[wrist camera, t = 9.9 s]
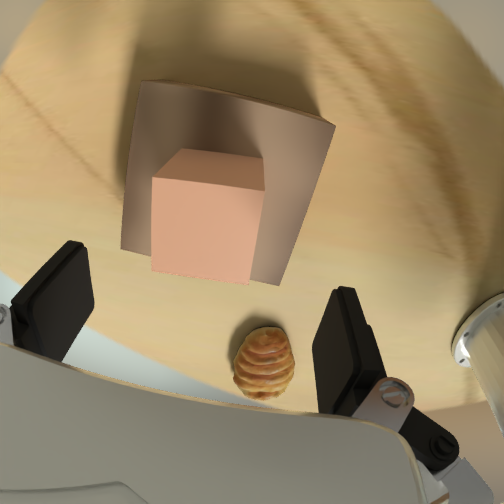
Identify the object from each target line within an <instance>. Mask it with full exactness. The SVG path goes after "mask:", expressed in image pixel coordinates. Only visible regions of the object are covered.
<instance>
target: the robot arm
mask: <svg viewBox="0 0 504 504" xmlns="http://www.w3.org/2000/svg"><path fill="white" fill-rule="evenodd" d="M11 304H12V306H11V307H10V308H8V307H7V306H6V305H4V304H0V504H493V503H494V496H493V492H492V490H491V489H490V487H489V486H488V485H487V484H486V483H485V481H484V480H483V479H482V478H481V476H480V475H479V474H478V473H477V472H476V470H475V469H474V468H473V467H472V466H471V464H470V463H469V462H468V461H467V460H466V458H463V459H461V458H460V457H459V456H458V455H459V445H458V442H457V440H456V439H455V437H454V436H453V435H452V434H451V433H450V432H448V431H447V430H446V429H444V428H443V427H441V426H440V425H438V424H437V423H436V422H434V421H433V420H431V419H430V418H429V417H427V416H426V415H424V414H423V413H422V412H420V411H419V410H417V409H416V408H415V407H413V404H414V401H415V399H414V393H413V391H412V389H411V388H410V387H409V385H408V384H406V383H405V382H404V381H402V380H400V379H398V378H394V377H387V375H386V371H385V368H384V365H383V362H382V358H381V355H380V352H379V349H378V346H377V343H376V340H375V337H374V333H373V330H372V328H371V326H370V325H368V324H367V323H366V320H365V317H364V314H363V311H362V308H361V305H360V302H359V299H358V296H357V293H356V290H355V288H351V287H344V286H339V287H338V289H333V291H332V293H331V296H330V298H329V301H328V304H327V306H326V309H325V312H324V314H323V317H322V320H321V322H320V325H319V328H318V330H317V333H316V335H315V338H314V340H313V344H312V354H313V362H314V371H315V380H316V390H317V400H318V410H319V413H312V412H300V411H290V410H280V409H272V408H263V407H254V406H247V405H239V404H233V403H226V402H220V401H213V400H207V399H202V398H197V397H191V396H186V395H181V394H176V393H171V392H167V391H162V390H158V389H153V388H149V387H145V386H141V385H137V384H133V383H129V382H125V381H121V380H118V379H114V378H110V377H107V376H103V375H100V374H96V373H93V372H90V371H86V370H83V369H80V368H77V367H73V366H71V365H67V364H65V363H62V360H63V358H64V357H65V355H66V353H67V352H68V350H69V348H70V347H71V345H72V343H73V342H74V340H75V338H76V337H77V335H78V333H79V332H80V330H81V328H82V327H83V325H84V324H85V322H86V321H87V319H88V317H89V316H90V314H91V313H92V311H93V309H94V296H93V290H92V283H91V276H90V268H89V260H88V252H87V248H86V247H84V245H83V243H82V242H76V241H71V240H69V241H67V242H66V243H65V244H64V245H63V246H62V247H61V248H60V249H59V250H58V251H57V252H56V253H55V254H54V255H53V256H52V257H51V258H50V259H49V260H48V261H47V262H46V263H45V264H44V265H43V266H42V267H41V268H40V269H39V270H38V272H37V273H36V274H35V275H34V276H33V277H32V278H31V279H30V280H29V281H28V282H27V283H26V284H25V285H24V287H23V288H22V289H21V290H20V291H19V292H18V293H17V294H16V295H15V297H14V298H13V299H12V300H11ZM452 356H453V358H454V360H455V362H456V363H457V364H458V365H460V366H462V367H471V368H472V370H473V372H474V374H475V376H476V378H477V380H478V382H479V384H480V386H481V388H482V390H483V392H484V394H485V396H486V398H487V400H488V402H489V405H490V407H491V409H492V411H493V414H494V416H495V418H496V420H497V423H498V425H499V427H500V430H501V432H502V435H503V437H504V293H502V294H499V295H497V296H495V297H493V298H491V299H489V300H488V301H486V302H485V303H483V304H482V305H481V306H480V307H479V308H477V309H476V310H475V311H474V312H473V313H472V314H471V315H470V316H469V317H468V318H467V320H466V321H465V322H464V323H463V325H462V326H461V328H460V329H459V331H458V332H457V334H456V336H455V338H454V341H453V344H452ZM500 504H504V502H502V503H500Z"/></svg>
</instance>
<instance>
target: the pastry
mask: <svg viewBox="0 0 504 504" xmlns="http://www.w3.org/2000/svg"><path fill="white" fill-rule="evenodd" d="M233 364H234V377H233V380H234V382H235V384H236V385H237V386H238V388H239V389H240V390H241V391H242V392H243V393H244V395H245V396H247V397H248V398H251V399H254V400H268V399H270V398H274V397H278V396H279V395H281V394H282V393H283V392H285V389H286V388H287V386H288V384H289V382H290V381H291V379H292V377H293V374H294V366H295V361H294V358H293V354H292V351H291V347H290V343H289V340H288V337H287V336H286V334H285V333H284V332H283V330H282V329H280V328H278V327H263V328H258V329H255V330H253V331H252V332H251V333H250V334H249V335H247V336H246V339H245V340H244V342H243V344H242V345H241V346H240V347H239V350H238V353H237V355H236V357H235V358H234V361H233Z"/></svg>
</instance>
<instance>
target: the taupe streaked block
mask: <svg viewBox="0 0 504 504" xmlns="http://www.w3.org/2000/svg"><path fill="white" fill-rule="evenodd" d="M335 128H336V126H335V125H333V124H332V123H330V122H329V121H327V120H325V119H324V118H322V117H319V116H316V115H313V114H310V113H307V112H303V111H300V110H297V109H293V108H290V107H286V106H283V105H279V104H276V103H272V102H268V101H264V100H260V99H257V98H253V97H248V96H244V95H240V94H236V93H231V92H227V91H222V90H217V89H213V88H208V87H202V86H197V85H192V84H186V83H180V82H174V81H167V80H146V81H141V86H140V91H139V96H138V101H137V106H136V112H135V118H134V124H133V130H132V136H131V143H130V150H129V158H128V166H127V174H126V183H125V193H124V204H123V216H122V231H121V249H123V250H127V251H131V252H135V253H139V254H143V255H147V256H151V205H152V177H153V176H154V175H155V174H156V173H157V172H158V171H159V170H160V169H161V168H162V167H163V166H164V165H165V164H166V163H167V162H168V161H169V160H170V159H171V158H172V157H173V156H174V155H175V154H176V153H177V152H178V151H180V150H181V149H182V148H184V149H193V150H203V151H211V152H219V153H227V154H235V155H242V156H249V157H256V158H262V159H263V163H264V181H265V195H264V200H263V206H262V212H261V217H260V223H259V229H258V234H257V240H256V246H255V251H254V257H253V262H252V268H251V274H250V279H249V280H254V281H258V282H263V283H267V284H272V285H276V286H279V285H280V282H281V280H282V277H283V274H284V272H285V269H286V267H287V264H288V261H289V258H290V256H291V253H292V250H293V248H294V245H295V242H296V240H297V237H298V234H299V231H300V229H301V226H302V223H303V220H304V218H305V215H306V212H307V209H308V206H309V204H310V201H311V198H312V195H313V192H314V189H315V187H316V184H317V181H318V178H319V175H320V172H321V169H322V166H323V164H324V161H325V158H326V155H327V152H328V149H329V146H330V143H331V140H332V137H333V134H334V131H335Z"/></svg>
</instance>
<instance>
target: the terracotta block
mask: <svg viewBox="0 0 504 504" xmlns="http://www.w3.org/2000/svg"><path fill="white" fill-rule="evenodd" d="M264 195H265V181H264V163H263V159H262V158H256V157H249V156H242V155H235V154H227V153H219V152H211V151H203V150H193V149H184V148H182V149H181V150H180V151H178V152H177V153H176V154H175V155H174V156H173V157H172V158H171V159H170V160H169V161H168V162H167V163H166V164H165V165H164V166H163V167H162V168H161V169H160V170H159V171H158V172H157V173H156V174H155V175H154V176H153V177H152V205H151V262H152V271H154V272H161V273H167V274H174V275H181V276H187V277H194V278H201V279H208V280H215V281H222V282H229V283H237V284H244V285H249V279H250V274H251V268H252V262H253V257H254V251H255V246H256V240H257V234H258V229H259V223H260V217H261V212H262V206H263V200H264Z"/></svg>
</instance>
